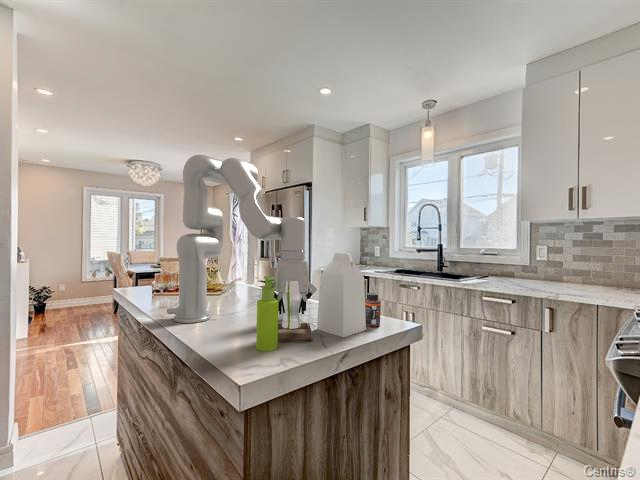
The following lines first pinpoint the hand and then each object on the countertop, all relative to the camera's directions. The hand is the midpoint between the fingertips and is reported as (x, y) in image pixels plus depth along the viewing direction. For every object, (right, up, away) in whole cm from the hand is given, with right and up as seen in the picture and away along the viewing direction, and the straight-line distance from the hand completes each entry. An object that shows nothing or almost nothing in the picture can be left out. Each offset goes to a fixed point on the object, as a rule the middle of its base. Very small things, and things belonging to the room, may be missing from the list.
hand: (291, 312), depth 100 cm
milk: (+16, -8, +8) cm, 20 cm away
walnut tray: (0, -7, 0) cm, 7 cm away
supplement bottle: (+28, -8, +14) cm, 32 cm away
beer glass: (0, -5, 0) cm, 5 cm away
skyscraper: (-3, -7, +18) cm, 19 cm away
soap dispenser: (-6, -7, -12) cm, 15 cm away
